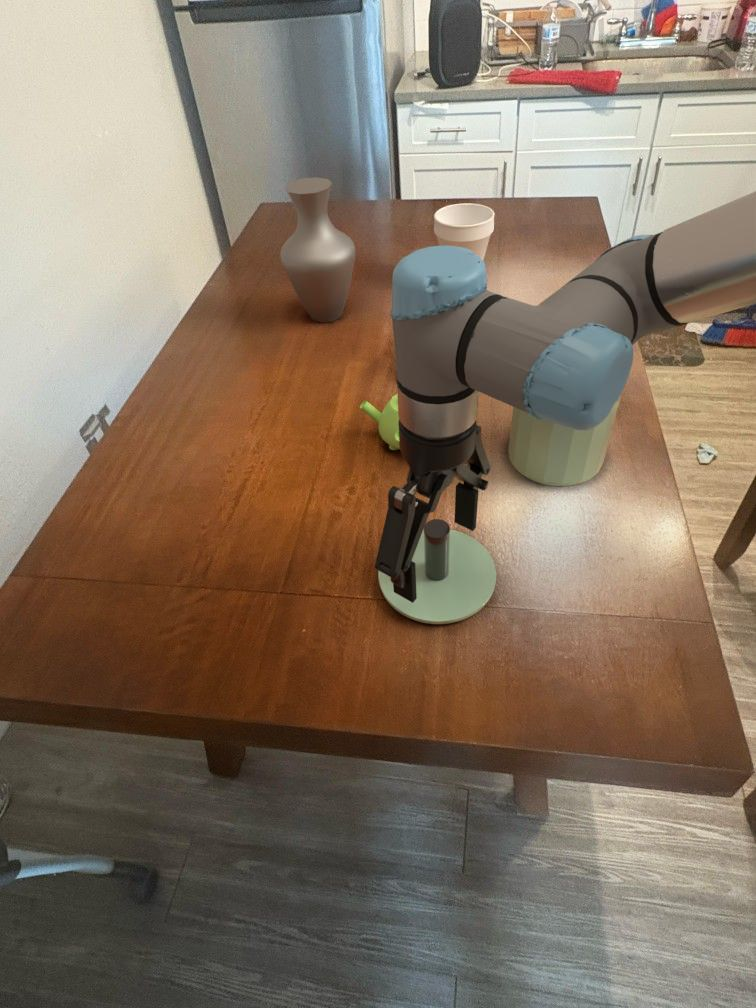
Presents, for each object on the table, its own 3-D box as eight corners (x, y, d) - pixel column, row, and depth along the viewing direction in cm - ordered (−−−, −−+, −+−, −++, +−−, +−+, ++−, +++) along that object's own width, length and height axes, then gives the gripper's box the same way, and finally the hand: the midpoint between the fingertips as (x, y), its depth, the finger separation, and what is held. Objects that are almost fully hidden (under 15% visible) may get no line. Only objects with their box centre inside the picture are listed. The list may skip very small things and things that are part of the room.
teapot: (460, 445, 93) (462, 400, 87) (398, 474, 90) (395, 429, 84) (420, 409, 100) (419, 365, 94) (360, 435, 97) (355, 391, 91)
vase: (318, 340, 118) (297, 206, 100) (278, 315, 126) (252, 186, 108) (375, 314, 124) (365, 182, 106) (334, 291, 132) (318, 165, 114)
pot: (624, 436, 92) (648, 352, 82) (570, 511, 82) (589, 427, 72) (542, 407, 98) (554, 326, 88) (482, 474, 88) (488, 392, 78)
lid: (517, 565, 76) (524, 515, 70) (455, 648, 69) (457, 601, 62) (421, 518, 83) (420, 468, 77) (355, 589, 75) (347, 541, 69)
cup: (423, 275, 134) (422, 211, 125) (471, 262, 137) (474, 198, 128) (451, 297, 126) (452, 231, 116) (501, 283, 129) (507, 216, 120)
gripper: (470, 347, 66) (463, 487, 81) (324, 476, 53) (348, 614, 68) (532, 367, 63) (513, 509, 78) (393, 510, 50) (402, 647, 65)
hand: (436, 558), depth 73 cm, fingers open, 12 cm apart
